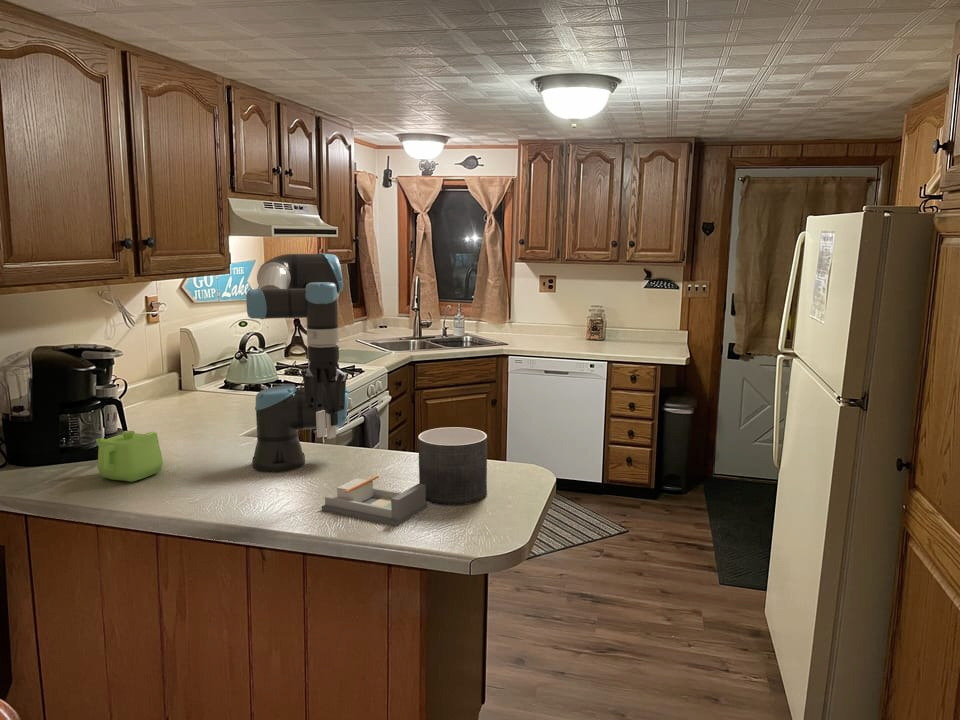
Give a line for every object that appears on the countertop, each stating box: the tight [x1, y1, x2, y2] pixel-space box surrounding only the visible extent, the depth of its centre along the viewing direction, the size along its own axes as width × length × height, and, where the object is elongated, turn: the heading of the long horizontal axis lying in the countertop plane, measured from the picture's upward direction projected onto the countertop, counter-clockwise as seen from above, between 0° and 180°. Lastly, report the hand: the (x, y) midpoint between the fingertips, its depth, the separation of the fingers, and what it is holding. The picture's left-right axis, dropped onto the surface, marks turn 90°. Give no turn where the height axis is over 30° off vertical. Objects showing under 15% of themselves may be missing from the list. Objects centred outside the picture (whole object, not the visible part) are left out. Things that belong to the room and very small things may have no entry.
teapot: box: [95, 430, 164, 483], centre depth 204 cm, size 18×20×13 cm
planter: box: [417, 426, 488, 506], centre depth 189 cm, size 18×18×16 cm
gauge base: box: [321, 483, 429, 527], centre depth 179 cm, size 22×14×6 cm, turn 63°
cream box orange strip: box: [336, 475, 379, 502], centre depth 182 cm, size 6×13×5 cm, turn 153°
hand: (326, 436), depth 183 cm, fingers open, 3 cm apart
